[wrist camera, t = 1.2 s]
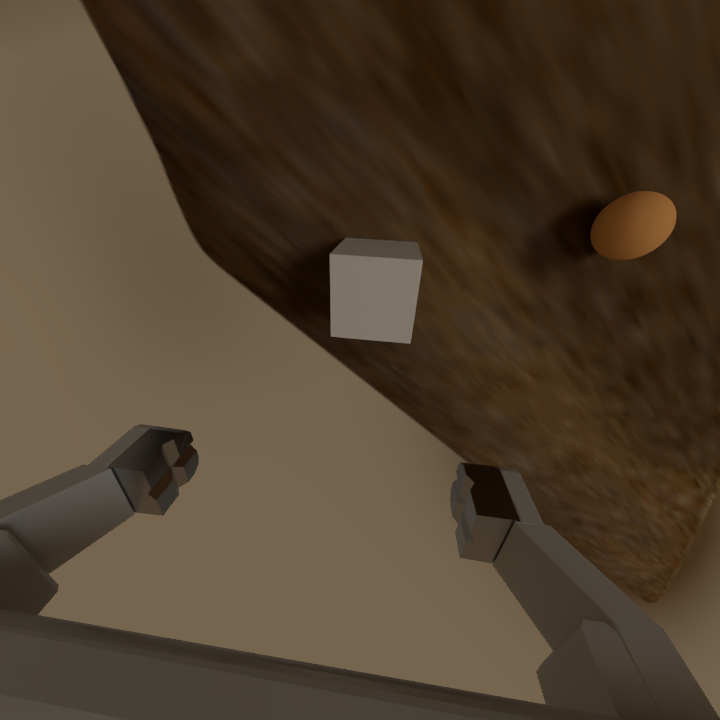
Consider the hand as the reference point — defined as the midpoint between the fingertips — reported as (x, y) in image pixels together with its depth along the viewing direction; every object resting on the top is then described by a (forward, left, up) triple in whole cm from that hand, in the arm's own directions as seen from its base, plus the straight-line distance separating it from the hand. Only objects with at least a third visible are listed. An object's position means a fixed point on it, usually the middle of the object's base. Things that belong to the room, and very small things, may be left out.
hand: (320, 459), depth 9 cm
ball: (-5, +20, -22) cm, 30 cm away
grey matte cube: (+1, 0, -24) cm, 24 cm away
